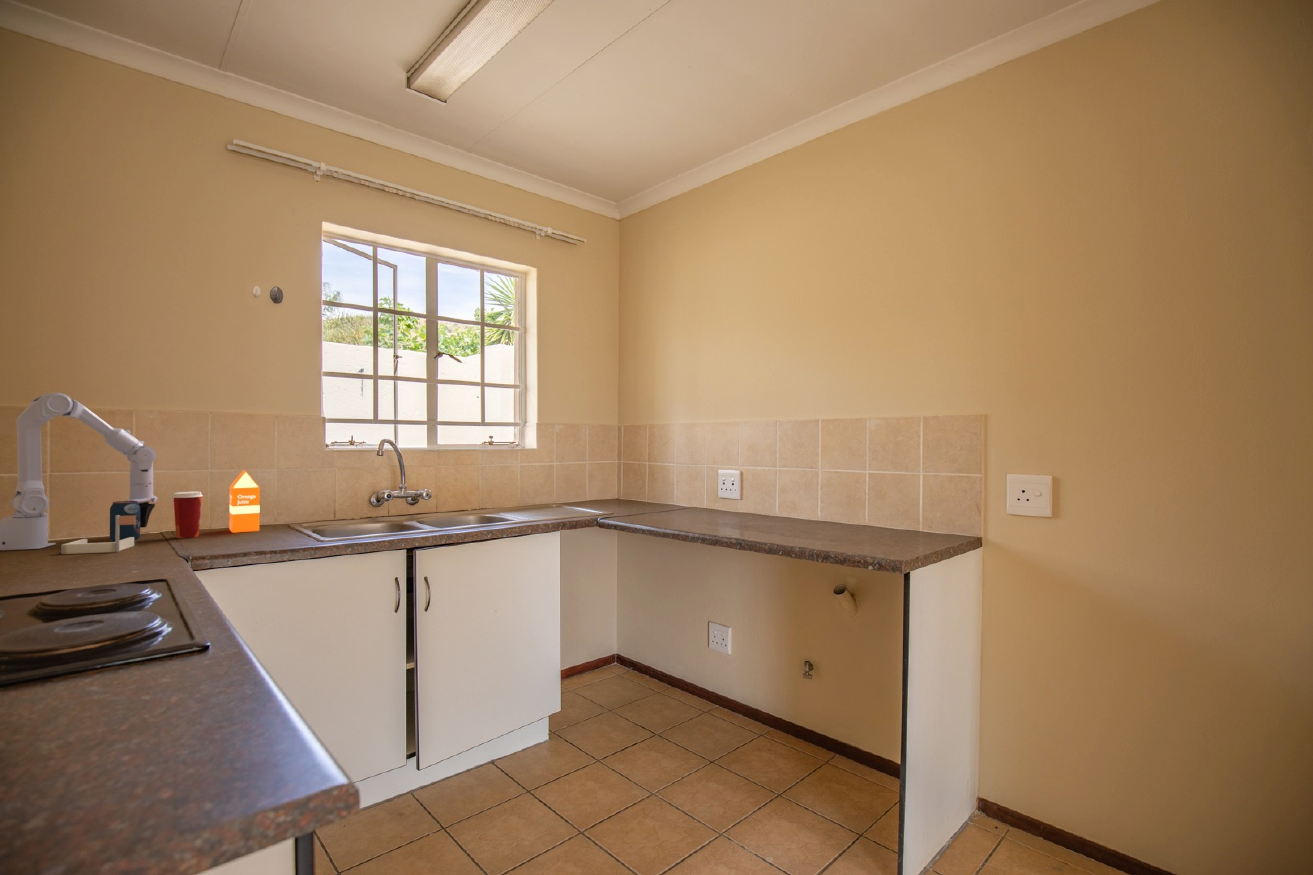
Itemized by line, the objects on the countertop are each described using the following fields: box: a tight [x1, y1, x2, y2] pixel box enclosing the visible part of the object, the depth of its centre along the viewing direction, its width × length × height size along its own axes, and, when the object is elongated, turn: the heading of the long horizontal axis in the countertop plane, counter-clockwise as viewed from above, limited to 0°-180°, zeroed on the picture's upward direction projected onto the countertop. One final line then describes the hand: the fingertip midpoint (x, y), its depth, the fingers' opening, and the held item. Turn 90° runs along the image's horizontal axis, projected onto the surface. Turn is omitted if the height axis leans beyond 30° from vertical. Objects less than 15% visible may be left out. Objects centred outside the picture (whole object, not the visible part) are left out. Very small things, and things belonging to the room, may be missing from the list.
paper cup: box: [172, 491, 204, 540], centre depth 196 cm, size 8×8×14 cm
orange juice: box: [229, 470, 261, 534], centre depth 211 cm, size 8×9×20 cm
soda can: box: [109, 500, 141, 543], centre depth 187 cm, size 7×7×12 cm
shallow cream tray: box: [60, 515, 135, 555], centre depth 173 cm, size 17×11×10 cm, turn 107°
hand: (141, 527), depth 196 cm, fingers closed
